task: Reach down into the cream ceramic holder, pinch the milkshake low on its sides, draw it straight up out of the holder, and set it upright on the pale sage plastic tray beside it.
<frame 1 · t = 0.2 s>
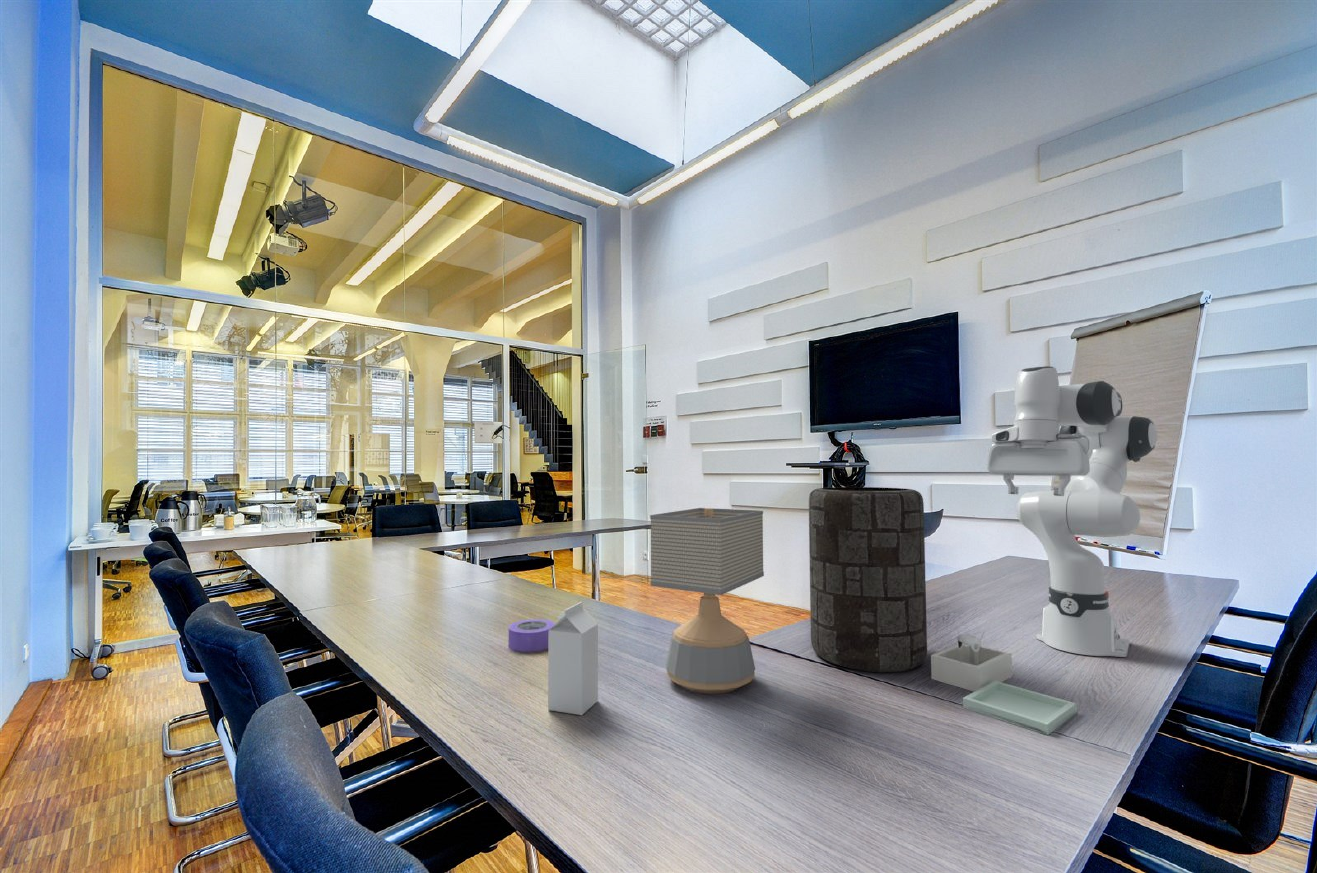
hand: (1035, 495, 131), 39 cm above the table, tool pointing down, fingers open, 8 cm apart
tape roll: (531, 645, 148), on the table
milk carton: (573, 707, 111), on the table
planter: (867, 656, 139), on the table
desk lamp: (710, 682, 123), on the table
tray: (1019, 710, 108), on the table
milkshake: (972, 678, 124), resting in holder
holder: (972, 677, 124), on the table
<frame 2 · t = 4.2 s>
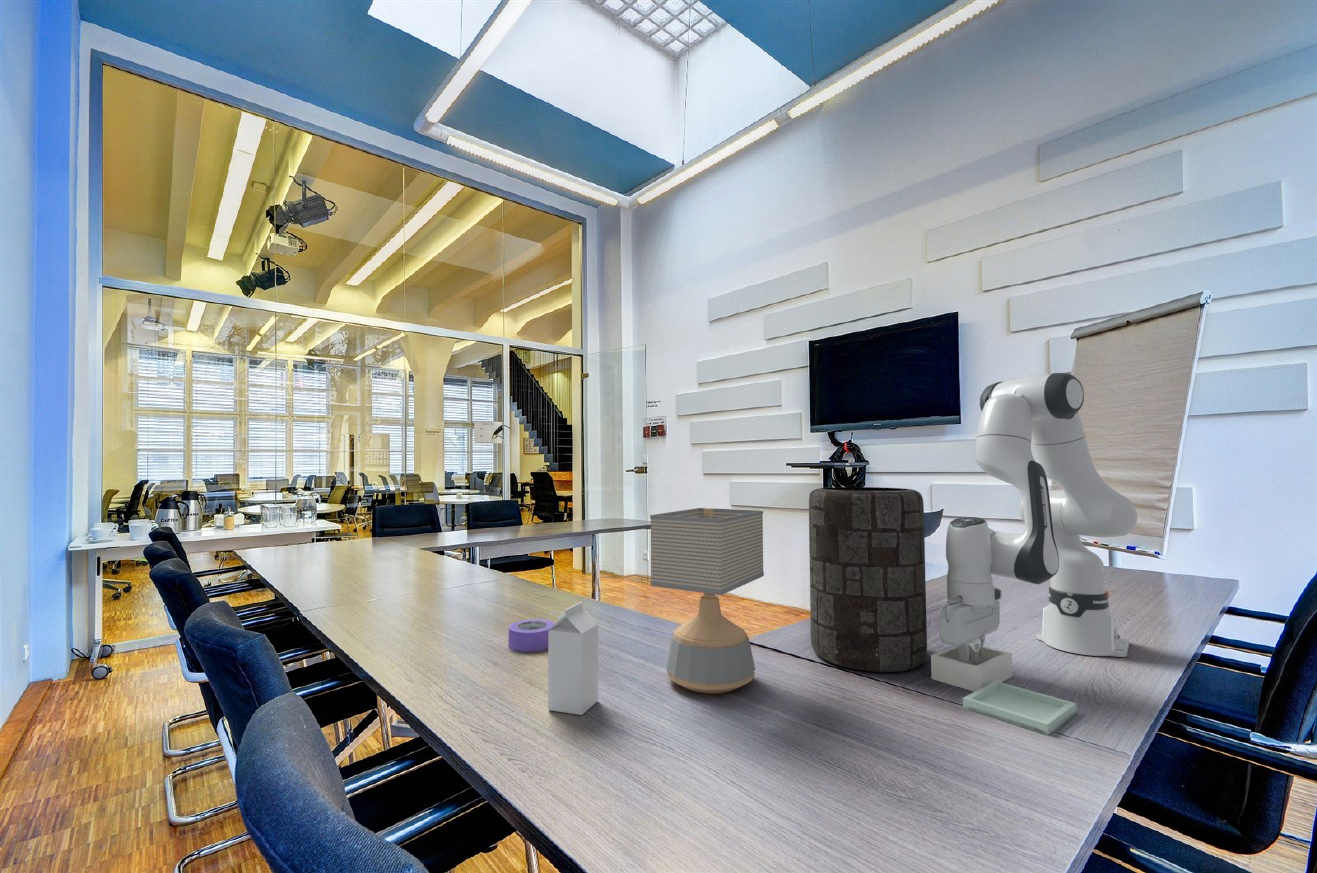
hand: (971, 658, 124), 4 cm above the table, tool pointing down, fingers closed on milkshake, 4 cm apart
milkshake: (972, 678, 124), resting in holder, touching gripper
everything else where it was.
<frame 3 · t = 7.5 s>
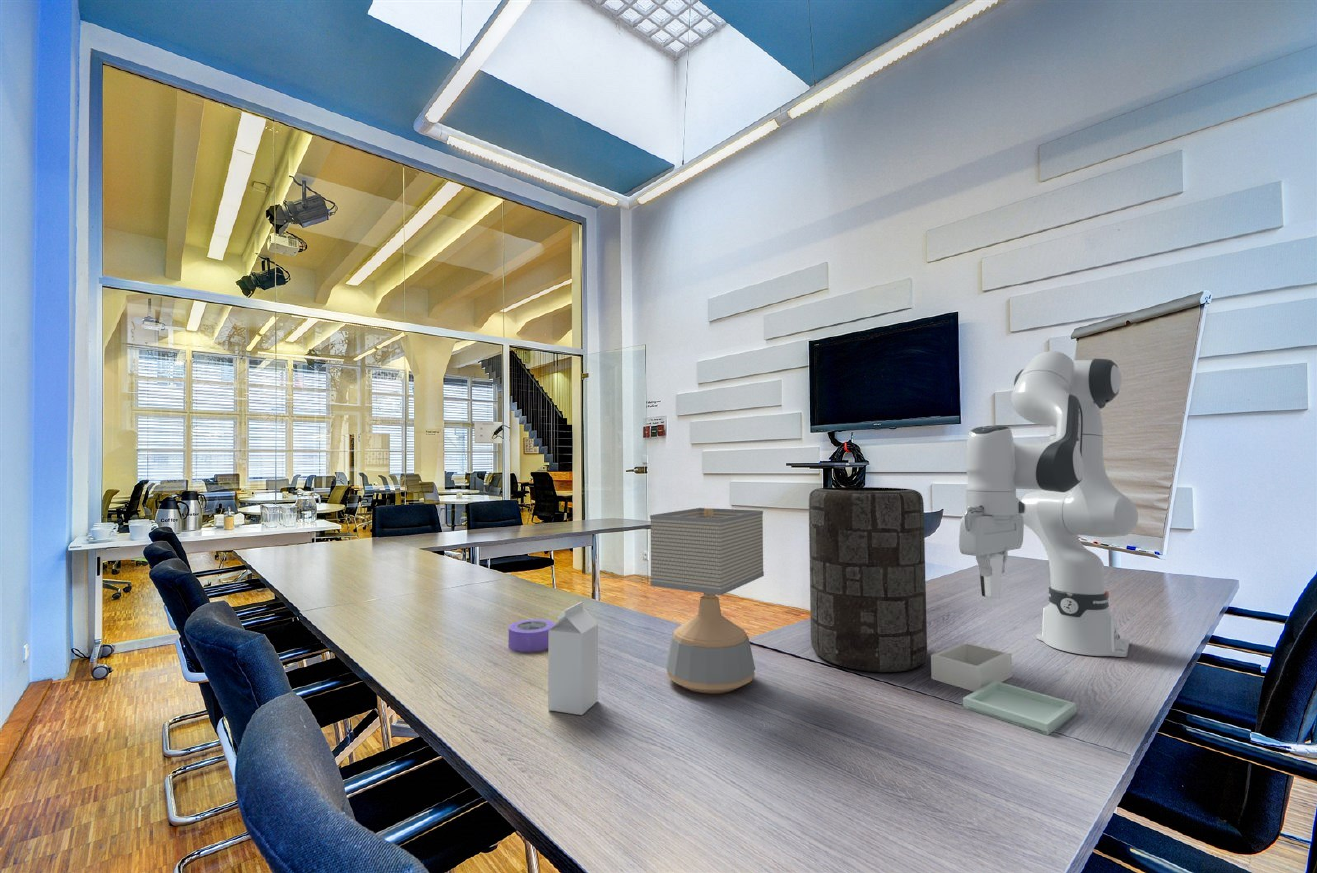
hand: (992, 574, 116), 24 cm above the table, tool pointing down, fingers closed on milkshake, 4 cm apart
milkshake: (993, 597, 116), point 19 cm above the table, touching gripper
everything else where it was.
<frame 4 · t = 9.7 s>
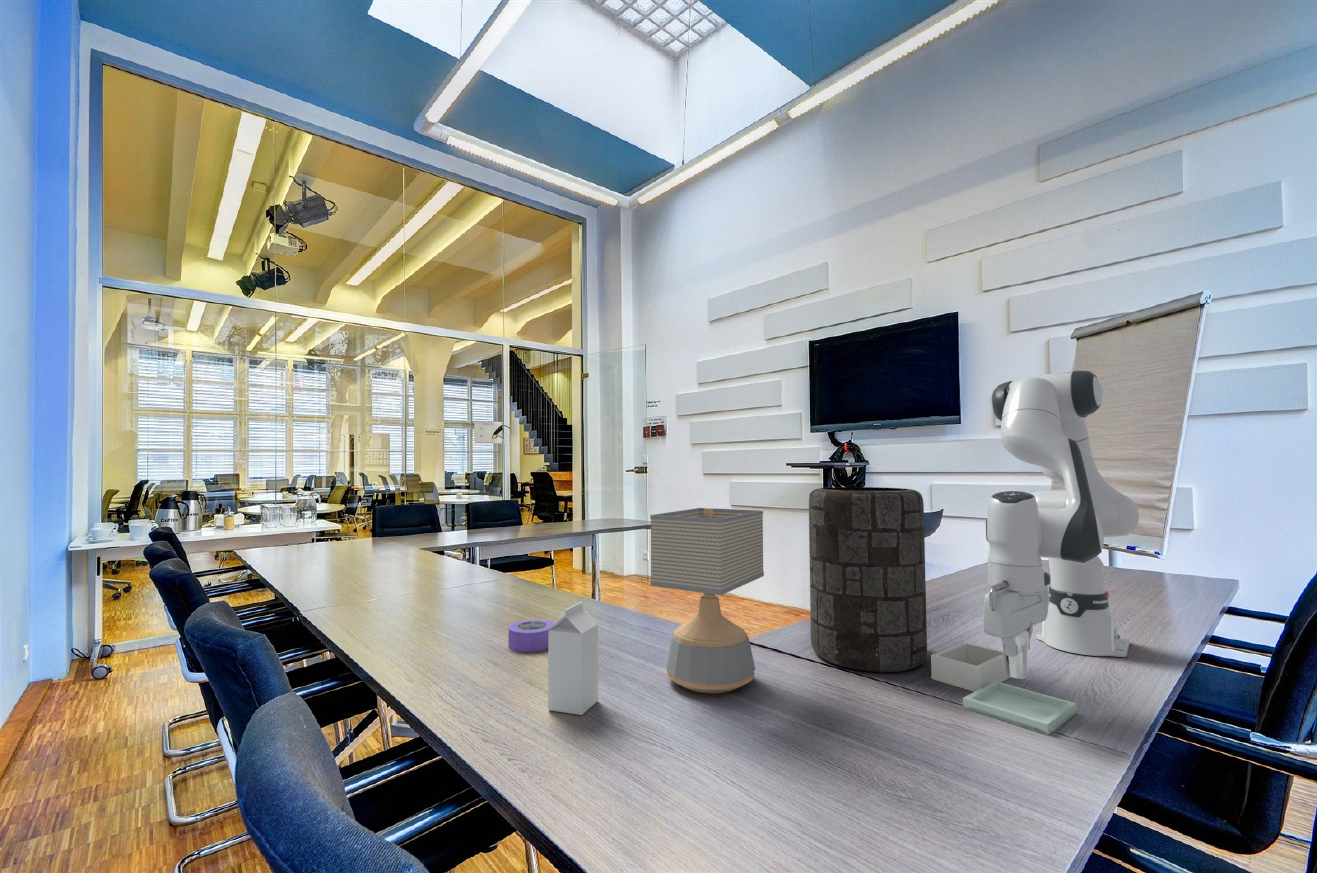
hand: (1017, 652, 108), 11 cm above the table, tool pointing down, fingers closed on milkshake, 4 cm apart
milkshake: (1018, 676, 108), point 6 cm above the table, touching gripper
everything else where it was.
when the fingers open (6 cm above the table, at t = 11.3 s): milkshake drops 1 cm, resting on tray.
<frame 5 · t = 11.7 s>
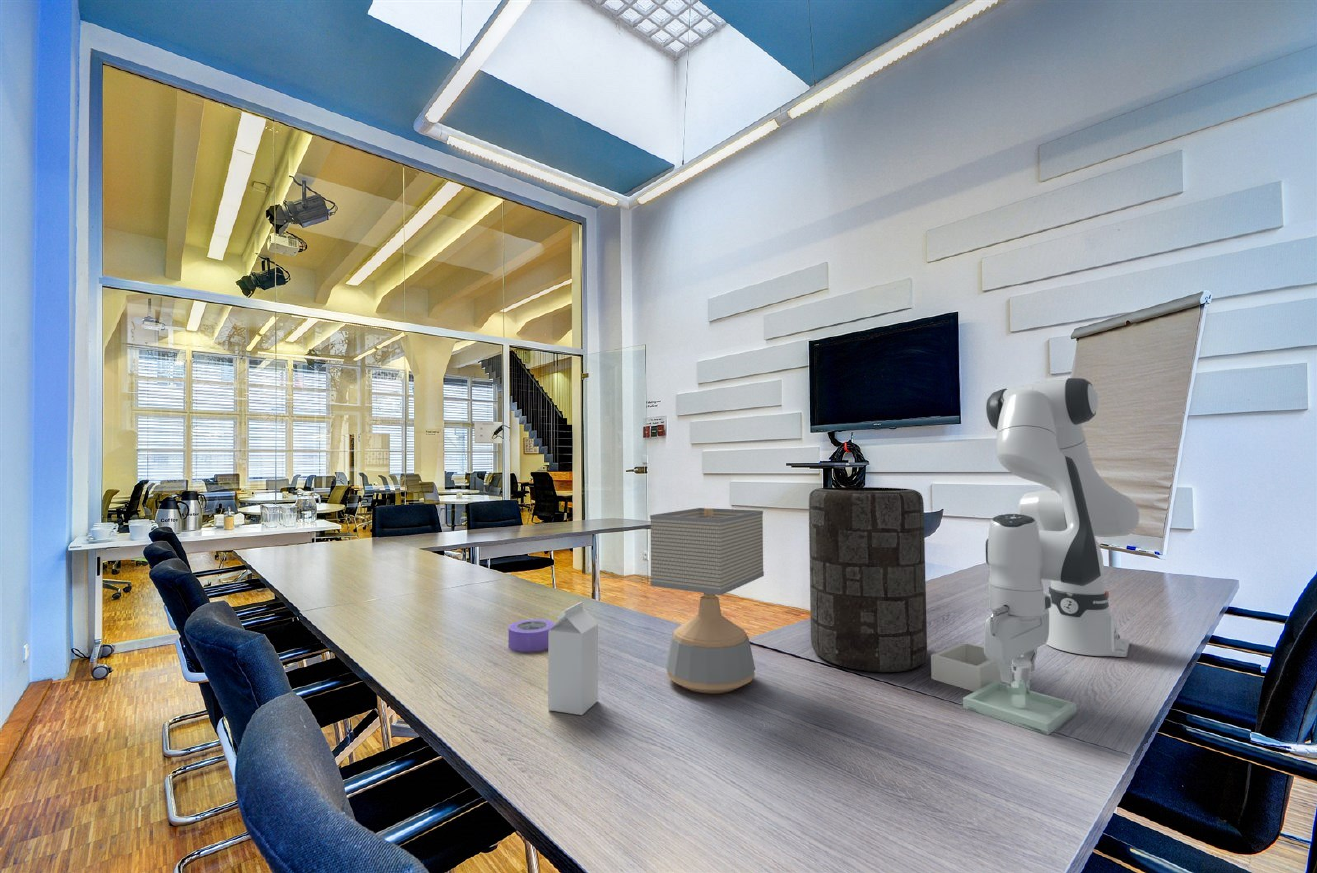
hand: (1018, 676, 108), 6 cm above the table, tool pointing down, fingers open, 8 cm apart
milkshake: (1021, 706, 108), resting on tray
everything else where it was.
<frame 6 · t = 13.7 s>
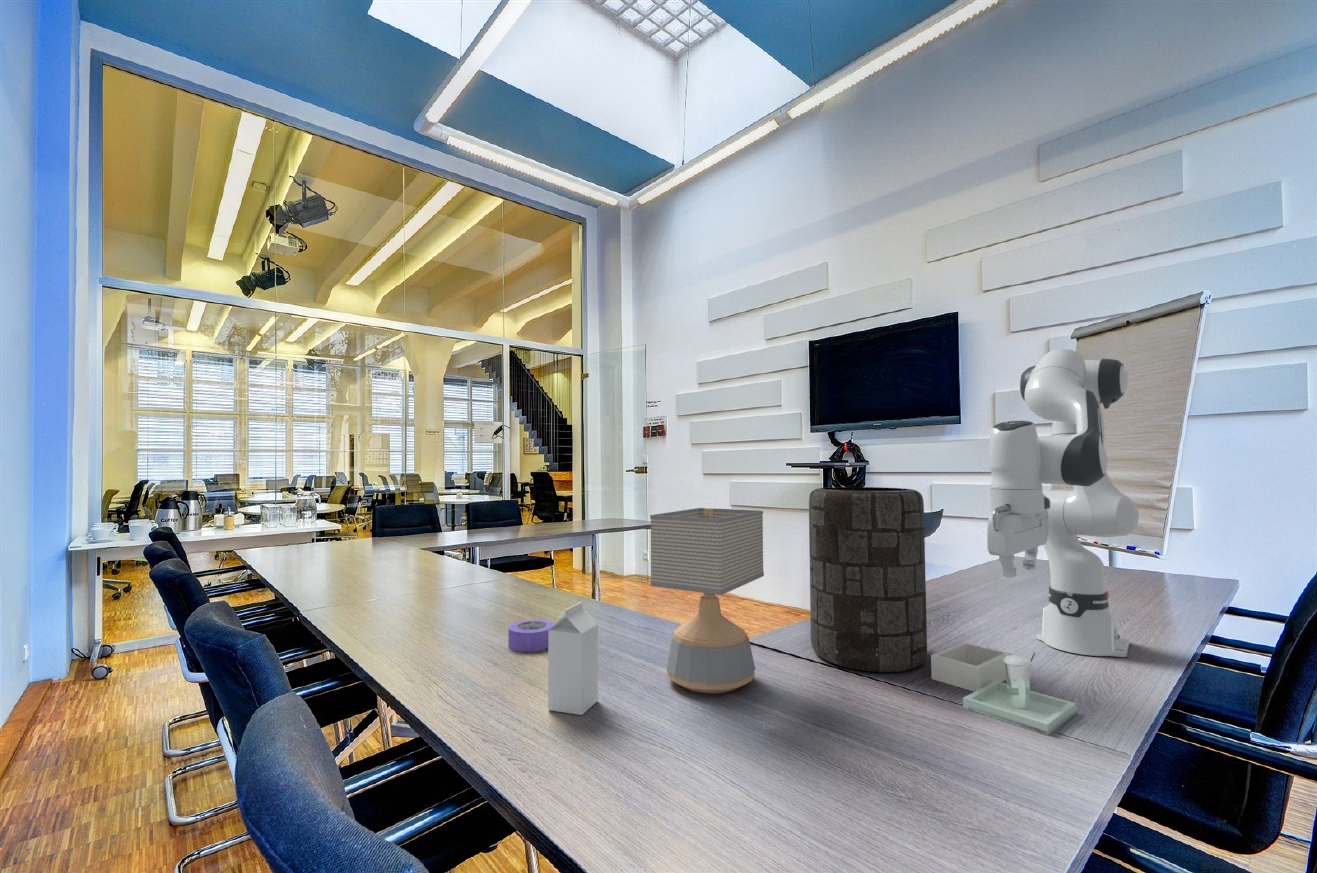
hand: (1020, 572, 114), 25 cm above the table, tool pointing down, fingers open, 8 cm apart
nothing on the table moved.
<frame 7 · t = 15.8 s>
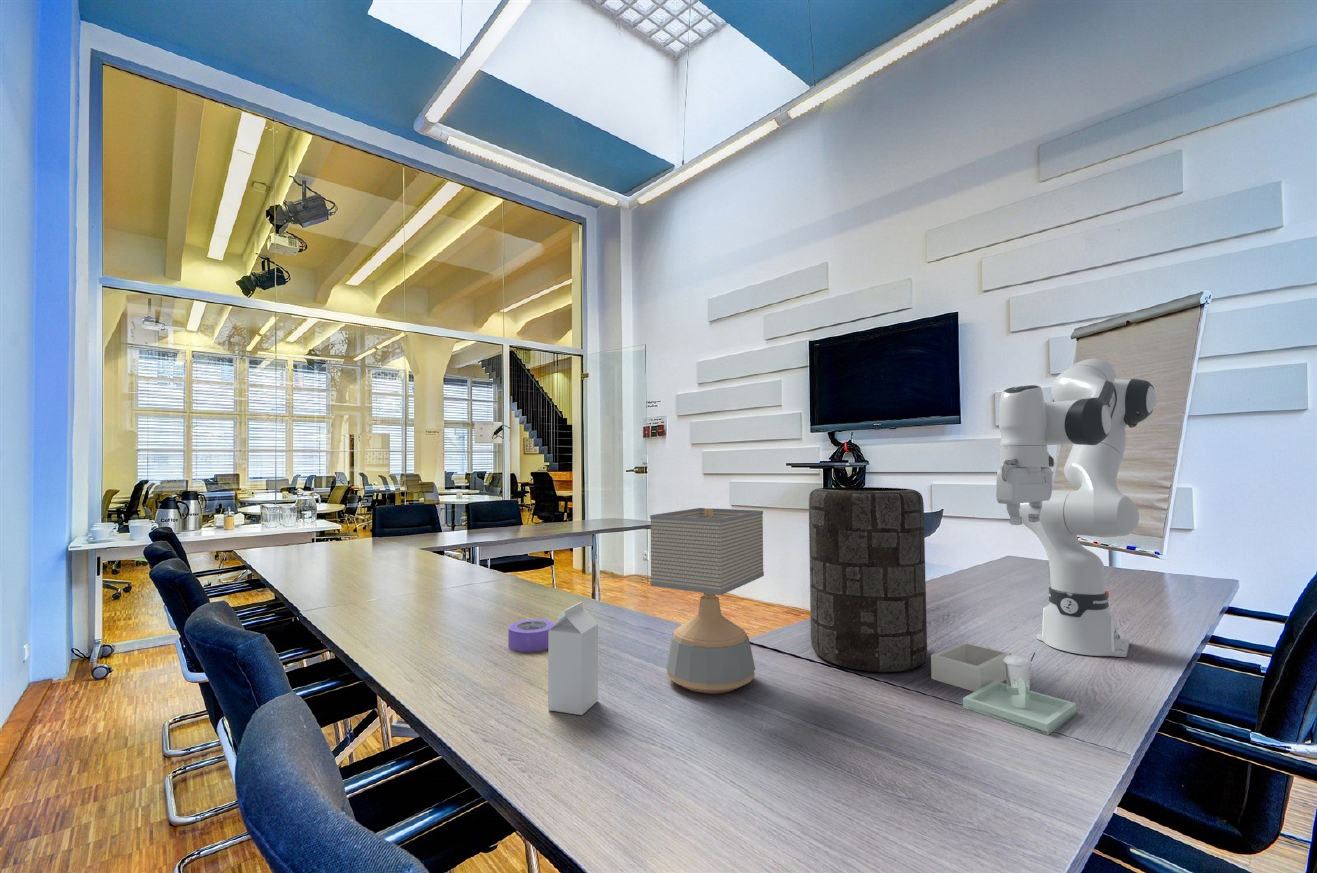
hand: (1025, 523, 125), 33 cm above the table, tool pointing down, fingers open, 8 cm apart
nothing on the table moved.
at the end: milkshake inside the target area on the tray (1.0 cm from its centre), point 0.4 cm above the tray's base; milkshake tilted 0°; the gripper is holding nothing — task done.
